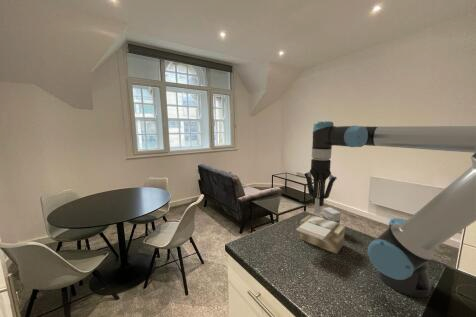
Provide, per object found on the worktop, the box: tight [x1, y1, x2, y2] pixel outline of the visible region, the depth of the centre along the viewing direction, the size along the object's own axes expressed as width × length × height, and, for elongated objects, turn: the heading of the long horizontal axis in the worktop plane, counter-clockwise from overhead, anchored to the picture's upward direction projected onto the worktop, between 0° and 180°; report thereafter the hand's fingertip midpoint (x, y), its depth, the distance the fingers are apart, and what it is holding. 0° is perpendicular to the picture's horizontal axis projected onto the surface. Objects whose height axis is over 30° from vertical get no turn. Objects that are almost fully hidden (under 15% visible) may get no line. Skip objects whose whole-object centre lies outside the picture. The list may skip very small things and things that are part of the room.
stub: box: [296, 222, 331, 240], centre depth 89 cm, size 12×10×1 cm
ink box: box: [321, 206, 341, 224], centre depth 110 cm, size 8×5×12 cm, turn 17°
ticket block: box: [299, 214, 346, 255], centre depth 98 cm, size 18×10×11 cm, turn 46°
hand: (317, 212), depth 85 cm, fingers closed
